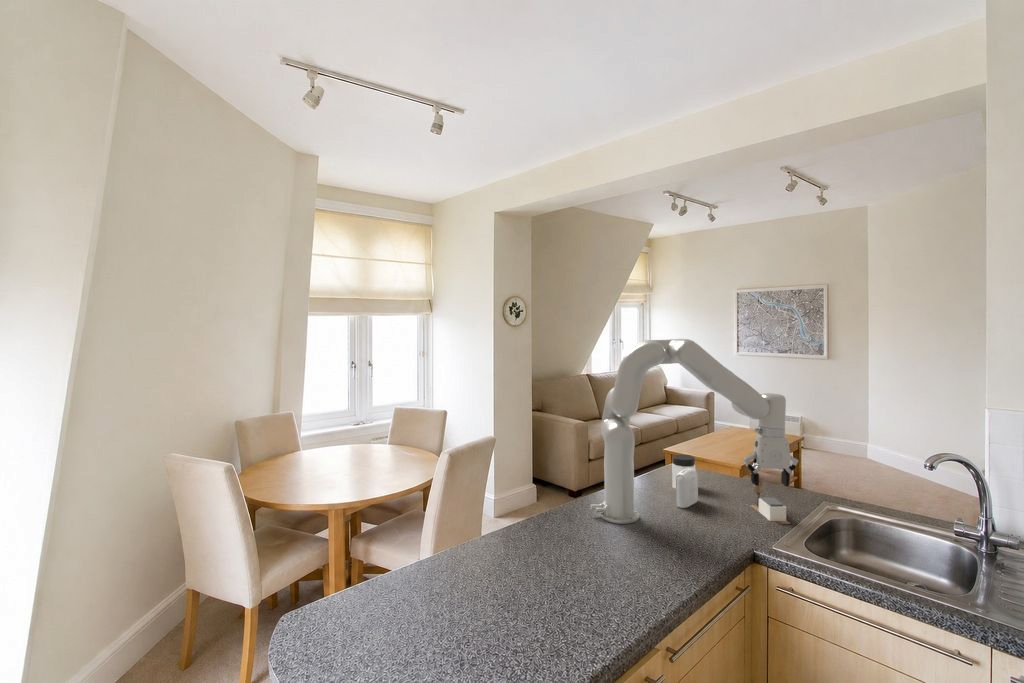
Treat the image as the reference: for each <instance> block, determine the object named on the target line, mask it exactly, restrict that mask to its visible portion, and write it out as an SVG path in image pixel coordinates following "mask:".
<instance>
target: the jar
mask: <svg viewBox="0 0 1024 683" xmlns="http://www.w3.org/2000/svg"><path fill="white" fill-rule="evenodd" d="M671 459H672V464H671V467H672V468H671V471H672V473H671V476H672V489H675V490H676V476H677V475H678V473H679V472H681V471H682V470H684V469H687V468H691V469H694V470H696V457H695V456H693V455H690V454H682V453H681V454H674V455H672V458H671Z"/></svg>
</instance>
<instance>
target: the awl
mask: <svg viewBox="0 0 1024 683" xmlns="http://www.w3.org/2000/svg"><path fill="white" fill-rule="evenodd" d="M753 491H754V493H756V505H757V506H759V498H761V493H763V491H764V490H763V478H762V477H761V476H760V475H759V485H758V486H756V485H754V484H753Z"/></svg>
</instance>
